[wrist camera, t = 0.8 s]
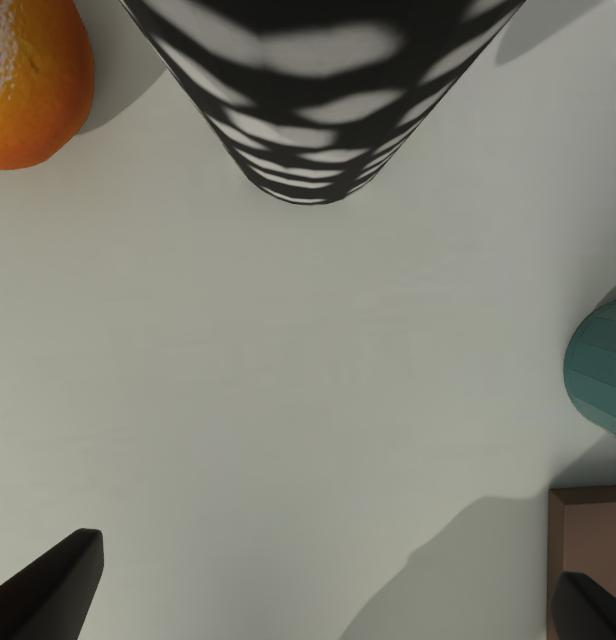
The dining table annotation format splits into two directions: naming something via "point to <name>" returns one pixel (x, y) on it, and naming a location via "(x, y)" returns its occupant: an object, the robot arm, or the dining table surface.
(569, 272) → the dining table surface
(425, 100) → the spotted tube
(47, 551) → the robot arm
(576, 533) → the board
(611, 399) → the teal coffee mug
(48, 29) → the fruit
